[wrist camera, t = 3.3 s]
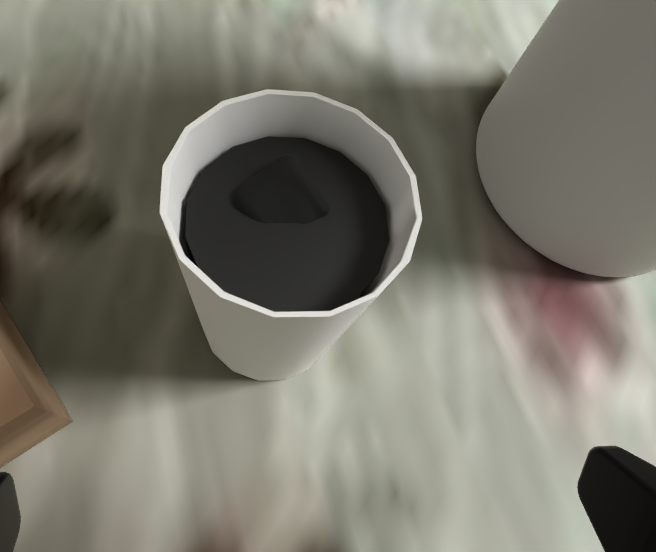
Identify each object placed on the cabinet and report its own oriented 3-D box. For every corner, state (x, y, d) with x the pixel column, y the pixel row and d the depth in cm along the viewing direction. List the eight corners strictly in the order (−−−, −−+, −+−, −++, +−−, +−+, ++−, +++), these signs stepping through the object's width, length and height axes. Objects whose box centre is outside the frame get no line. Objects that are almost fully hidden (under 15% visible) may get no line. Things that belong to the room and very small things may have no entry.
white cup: (159, 294, 21) (104, 154, 12) (287, 220, 24) (320, 56, 15) (249, 426, 20) (262, 377, 11) (375, 333, 22) (472, 229, 13)
